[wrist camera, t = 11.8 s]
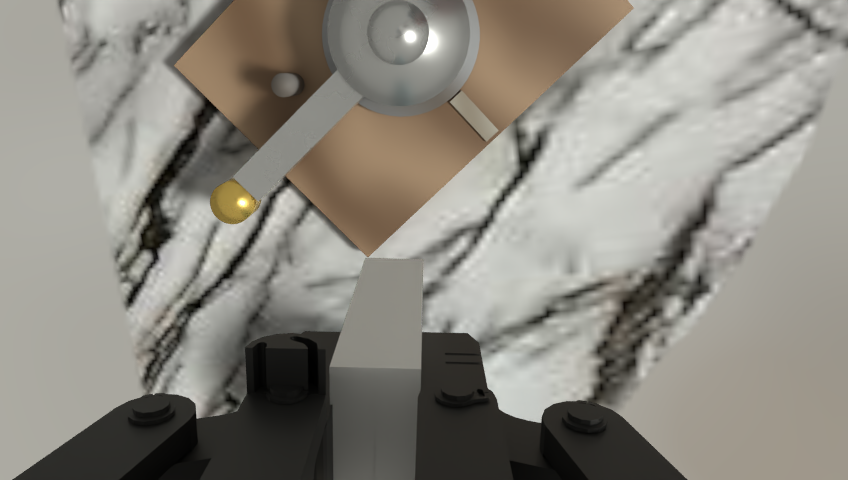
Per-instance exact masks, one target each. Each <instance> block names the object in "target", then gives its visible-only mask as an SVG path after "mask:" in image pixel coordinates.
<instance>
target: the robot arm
mask: <svg viewBox="0 0 848 480" xmlns="http://www.w3.org/2000/svg"><path fill="white" fill-rule="evenodd" d="M422 300H423V259H386V258H365V261H364V264H363V267H362V270H361V273H360V276H359V279H358V282H357V285H356V288H355V291H354V294H353V297H352V300H351V303H350V306H349V309H348V312H347V315H346V318H345V321H344V324H343V327H342V330H341V332H311V331H305V332H303V333H302V334H296V333H288V334H276V335H271V336H266V337H262V338H260V339H257V340H255V341H252V342H251V343H250V344H249V345H248V346H246V347H245V354H246V376H247V395H246V397H245V398H244V400H243V402H242V404H241V406H240V407H239V409H238V411H237V412H234V413H230V414H225V415H220V416H213V417H206V418H199V419H196V406H195V403H194V402H193V401H191V400H190V399H189V398H186V397H183V396H179V395H171V394H165V393H156V394H155V395H153V394H149V395H144V396H142V397H141V398H137V399H134V400H131V401H128V402H126V403H124V404H122V405H120V406H118V407H116V408H115V409H113V410H112V411H111V412H109V413H108V414H106V415H105V416H103V417H102V418H101V419H99V420H98V421H96V422H95V423H93V424H92V425H90V426H89V427H88V428H86V429H85V430H84V431H82V432H81V433H79V434H77V435H76V436H75V437H73V438H72V439H70V440H69V441H68V442H66V443H65V444H63V445H62V446H60V447H59V448H58V449H56V450H54V451H53V452H52V453H51V454H49V455H47V456H46V457H45V458H43V459H42V460H40V461H39V462H37V463H36V464H34V465H33V466H32V467H30V468H29V469H27V470H26V471H24V472H23V473H22V474H20V475H19V476H17V477H16V478H14V479H13V480H687V479H686V478H685V477H684V476H683V475H682V474H681V473H680V472H679V471H678V470H677V469H675V467H674V466H673V465H672V464H670V463H669V462H668V461H667V460H666V459H665V458H664V457H663V456H662V455H661V454H660V453H659V452H658V451H657V450H656V449H655V448H654V447H653V446H652V445H651V444H650V443H649V442H648V441H646V439H645V438H644V437H642V436H641V435H640V434H639V433H638V432H637V431H636V430H635V429H634V428H633V427H632V426H631V425H630V424H629V423H628V422H627V421H626V420H625V419H624V418H623V417H621V416H620V415H619V414H617V413H616V412H614V411H613V410H611V409H608V408H606V407H603V406H600V405H599V404H597V403H593V402H589V403H587V401H580V400H578V401H566V402H561V403H557V404H553V405H551V406H550V407H548V408H547V409H545V410H544V413H543V415H542V422H541V423H537V422H532V421H527V420H523V419H519V418H515V417H513V416H510V415H508V414H506V413H504V412H502V411H501V410H499V408H498V403H497V399H496V397H495V395H494V394H493V392H492V391H491V390H489V389H488V388H487V383H486V378H485V373H484V367H483V362H482V357H481V352H480V346H479V343H478V342H477V341H476V340H475V339H474V338H472V337H471V336H470V335H469V334H468V333H430V332H422Z"/></svg>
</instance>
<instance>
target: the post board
mask: <svg viewBox="0 0 848 480" xmlns="http://www.w3.org/2000/svg"><path fill="white" fill-rule="evenodd" d="M333 1H334V0H234V1H233V2H232V3H231V4H230V5H229V6H228V7H227V8H226V10H225V11H224V12H223V13H222V14H221V15H220V16H219V17H218V18H217V19H216V20H215V21H214V23H213V24H212V25H211V26H210V27H209V28H208V29H207V30H206V31H205V32H204V33H203V34H202V36H201V37H200V38H199V39H198V40H197V41H196V42H195V43H194V44H193V45H192V46H191V47H190V49H189V50H188V51H187V52H186V53H185V54H184V55H183V56H182V57H181V58H180V59H179V60H178V62H177V63H176V64H175V65H174V66H175V67H176V68H177V69H178V70H179V71H180V72H181V73H182V74H183V75H184V76H185V77H186V78H187V79H188V80H189V81H190V82H191V83H192V84H193V85H194V86H195V87H196V88H197V89H198V90H199V91H200V92H201V93H202V94H203V95H204V96H205V97H206V98H207V99H208V100H209V101H210V102H211V103H212V104H213V105H214V106H215V107H216V108H217V109H218V110H219V111H220V112H221V113H222V114H223V115H224V116H226V117H227V118H228V119H229V120H230V121H231V122H232V123H233V124H234V125H235V126H236V127H237V128H238V129H239V130H240V131H241V132H242V133H243V134H244V135H245V136H246V137H247V138H248V139H249V140H250V141H251V142H252V143H253V144H254V145H255V146H256V147H257V148H258V149H260V148H261V147H262V146H263V145H264V144H265V143H266V142H267V141H268V140H269V139H270V138H271V137H272V136H273V135H274V134H275V133H276V132H277V131H278V130H279V129H280V128H281V127H282V126H283V125H284V124H285V123H286V122H287V121H288V120H289V119H290V118H291V117H292V116H293V115H294V114H295V113H296V111H297V110H298V109H299V108H300V107H301V106H302V105H303V104H304V103H305V102H306V101H307V100H308V99H309V98H310V97H311V96H312V95H313V94H314V93H315V92H316V91H317V90H318V89H319V88H320V87H321V86H322V85H323V84H324V83H325V82H326V81H327V80H328V79H329V78H330V77H331V76H332V75H333V74H334V73H335V72H336V71H337V68H336V66H335V64H334V62H333V59H332V56H331V53H330V49H329V44H328V36H327V27H328V18H329V12H330V9H331V6H332V3H333ZM463 1H464V4H465V6H466V9H467V13H468V17H469V23H470V41H469V48H468V52H467V56H466V58H465V61H464V64H463V66H462V68H461V69H460V71H459V73H458V74H457V76H456V77H455V79H454V80H453V81H452V82H451V83H450V84H449V86H448V87H447V88H445V89H444V90H443V91H442V92H441V93H439V94H438V95H436V96H435V97H433V98H431V99H429V100H427V101H425V102H422V103H418V104H415V105H409V106H389V105H384V104H380V103H377V102H374V101H372V100H370V99H368V98H366V97H364V98H363V99H362V100H361V101H360V102H359V103H358V104H357V105H356V106H355V107H354V108H353V109H352V110H351V111H350V112H349V113H348V114H347V115H346V116H345V117H344V118H343V119H342V120H341V121H340V122H339V123H338V124H337V125H336V126H335V127H334V128H333V129H332V130H331V131H330V132H329V133H328V134H327V135H326V136H325V137H324V138H323V139H322V140H321V141H320V142H319V143H318V144H317V145H316V146H315V147H314V148H313V149H312V150H311V151H310V152H309V153H308V154H307V155H306V156H305V157H304V158H303V159H302V160H301V161H300V162H299V163H298V164H297V165H296V166H295V167H294V168H293V169H292V170H291V171H290V172H289V173H288V174H287V175H286V177H287V178H288V179H289V180H290V181H291V182H292V183H293V184H294V185H295V186H296V187H297V188H298V189H299V190H300V191H301V192H302V193H303V194H304V195H305V196H306V197H307V198H308V199H309V200H310V201H311V202H312V203H313V204H314V205H315V206H316V207H317V208H318V209H319V210H320V211H321V212H323V213H324V214H325V215H326V216H327V217H328V218H329V219H330V220H331V221H332V222H333V223H334V224H335V225H336V226H337V227H338V228H339V229H340V230H341V231H342V232H343V233H344V234H345V235H346V236H347V237H348V238H349V239H350V240H351V241H352V242H353V243H354V244H355V245H356V246H357V247H358V248H359V249H360V250H361V251H362V252H363V253H364V254H365V255H366V256H367V257H369V256H370V255H371V254H372V253H373V252H374V251H375V250H376V249H377V248H378V247H379V246H380V245H382V244H383V243H384V242H385V241H386V240H387V239H388V238H389V237H390V236H391V235H392V234H393V233H394V232H395V231H396V230H398V229H399V228H400V227H401V226H402V225H403V224H404V223H405V222H406V221H407V220H408V219H409V218H410V217H411V216H412V215H414V214H415V213H416V212H417V211H418V210H419V209H420V208H421V207H422V206H423V205H424V204H425V203H426V202H427V201H428V200H430V199H431V198H432V197H433V196H434V195H435V194H436V193H437V192H438V191H439V190H440V189H441V188H442V187H443V186H444V185H446V184H447V183H448V182H449V181H450V180H451V179H452V178H453V177H454V176H455V175H456V174H457V173H458V172H459V171H460V170H462V169H463V168H464V167H465V166H466V165H467V164H468V163H469V162H470V161H471V160H472V159H473V158H474V157H475V156H477V155H478V154H479V153H480V152H481V151H482V150H483V149H484V148H485V147H486V146H487V145H488V144H489V143H490V142H491V141H493V140H494V139H495V138H496V137H497V136H498V135H499V134H500V133H501V132H502V131H503V130H504V129H505V128H506V127H507V126H509V125H510V124H511V123H512V122H513V121H514V120H515V119H516V118H517V117H518V116H519V115H520V114H521V113H522V112H523V111H525V110H526V109H527V108H528V107H529V106H530V105H531V104H532V103H533V102H534V101H535V100H536V99H537V98H538V97H539V96H541V95H542V94H543V93H544V92H545V91H546V90H547V89H548V88H549V87H550V86H551V85H552V84H553V83H554V82H555V81H557V80H558V79H559V78H560V77H561V76H562V75H563V74H564V73H565V72H566V71H567V70H568V69H569V68H570V67H571V66H573V65H574V64H575V63H576V62H577V61H578V60H579V59H580V58H581V57H582V56H583V55H584V54H585V53H586V52H588V51H589V50H590V49H591V48H592V47H593V46H594V45H595V44H596V43H597V42H598V41H599V40H600V39H601V38H602V37H604V36H605V35H606V34H607V33H608V32H609V31H610V30H611V29H612V28H613V27H614V26H615V25H616V24H617V23H618V22H620V21H621V20H622V19H623V18H624V17H625V16H626V15H627V14H628V13H629V12H630V11H631V10H632V9H633V6H632V5H631V4H630V3H629V2H628V0H463Z"/></svg>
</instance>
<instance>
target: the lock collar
mask: <svg viewBox="0 0 848 480" xmlns="http://www.w3.org/2000/svg"><path fill="white" fill-rule="evenodd" d="M327 36H328V44H329V49H330V53H331V56H332V59H333V62H334V64H335V66H336V68H337V71H336V72H335V73H334V74H333V75H332V76H331V77H330V78H329V79H328V80H327V81H326V82H325V83H324V84H323V85H322V86H321V87H320V88H319V89H318V90H317V91H316V92H315V93H314V94H313V95H312V96H311V97H310V98H309V99H308V100H307V101H306V102H305V103H304V104H303V105H302V106H301V107H300V108H299V109H298V110H297V111H296V113H295V114H294V115H293V116H292V117H291V118H290V119H289V120H288V121H287V122H286V123H285V124H284V125H283V126H282V127H281V128H280V129H279V130H278V131H277V132H276V133H275V134H274V135H273V136H272V137H271V138H270V139H269V140H268V141H267V142H266V143H265V144H264V145H263V146H262V147H261V148H260V149H259V150H258V151H257V152H256V153H255V154H254V155H253V156H252V157H251V158H250V160H249V161H248V162H247V163H246V164H245V165H244V166H243V167H242V168H241V169H240V170H239V171H238V172H237V173H236V174H235V175H234V176H233V178H232V179H230V180H229V181H227V182H225V183H223V184H221V185H220V186H218V187H217V188H216V189H215V190H214V191H213V193H212V195H211V198H210V206H211V209H212V212H213V213H214V215H215V216H216V217H217V218H218V219H219V220H221V221H222V222H225V223H228V224H237V223H240V222H243V221H244V220H245V219H247V218H248V217H249V216H250V215H252V214H253V213H254V212H255V211H256V210H257V209H258V208H259V206H260V203H261V199H262V198H263V197H265V196H266V195H267V194H268V193H269V192H270V191H271V190H272V189H273V188H274V187H275V186H276V185H277V184H278V183H279V182H280V181H281V180H282V179H283V178H284V177H285V176H286V175H287V174H288V173H289V172H290V171H291V170H292V169H293V168H294V167H295V166H296V165H297V164H298V163H299V162H300V161H301V160H302V159H303V158H304V157H305V156H306V155H307V154H308V153H309V152H310V151H311V150H312V149H313V148H314V147H315V146H316V145H317V144H318V143H319V142H320V141H321V140H322V139H323V138H324V137H325V136H326V135H327V134H328V133H329V132H330V131H331V130H332V129H333V128H334V127H335V126H336V125H337V124H338V123H339V122H340V121H341V120H342V119H343V118H344V117H345V116H346V115H347V114H348V113H349V112H350V111H351V110H352V109H353V108H354V107H355V106H356V105H357V104H358V103H359V102H360V101H361V100H362V99H363V98H364V97H366V98H368V99H370V100H372V101H374V102H377V103H380V104H384V105H389V106H409V105H415V104H418V103H422V102H425V101H427V100H429V99H431V98H433V97H435V96H436V95H438V94H439V93H441V92H442V91H443V90H444V89H445V88H447V87H448V86H449V84H450V83H451V82H452V81H453V80H454V79H455V77H456V76H457V74H458V73H459V71H460V69H461V68H462V66H463V64H464V61H465V58H466V56H467V52H468V48H469V41H470V23H469V17H468V13H467V9H466V6H465V4H464V1H463V0H334V1H333V3H332V6H331V9H330V12H329V18H328V27H327Z"/></svg>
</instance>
